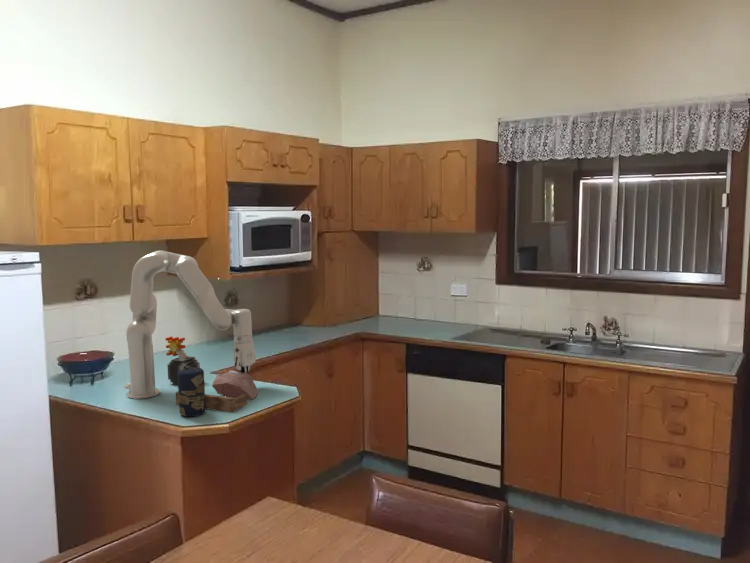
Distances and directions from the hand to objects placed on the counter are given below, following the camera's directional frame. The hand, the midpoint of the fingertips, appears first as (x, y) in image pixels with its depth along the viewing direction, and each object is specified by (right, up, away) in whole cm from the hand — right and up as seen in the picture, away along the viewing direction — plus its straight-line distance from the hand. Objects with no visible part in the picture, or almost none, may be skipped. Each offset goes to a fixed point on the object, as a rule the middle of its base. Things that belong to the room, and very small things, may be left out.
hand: (245, 381), depth 278 cm
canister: (-13, -8, -32) cm, 36 cm away
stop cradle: (-9, -6, -21) cm, 24 cm away
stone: (-2, -5, -8) cm, 10 cm away
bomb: (-30, -3, +11) cm, 32 cm away
